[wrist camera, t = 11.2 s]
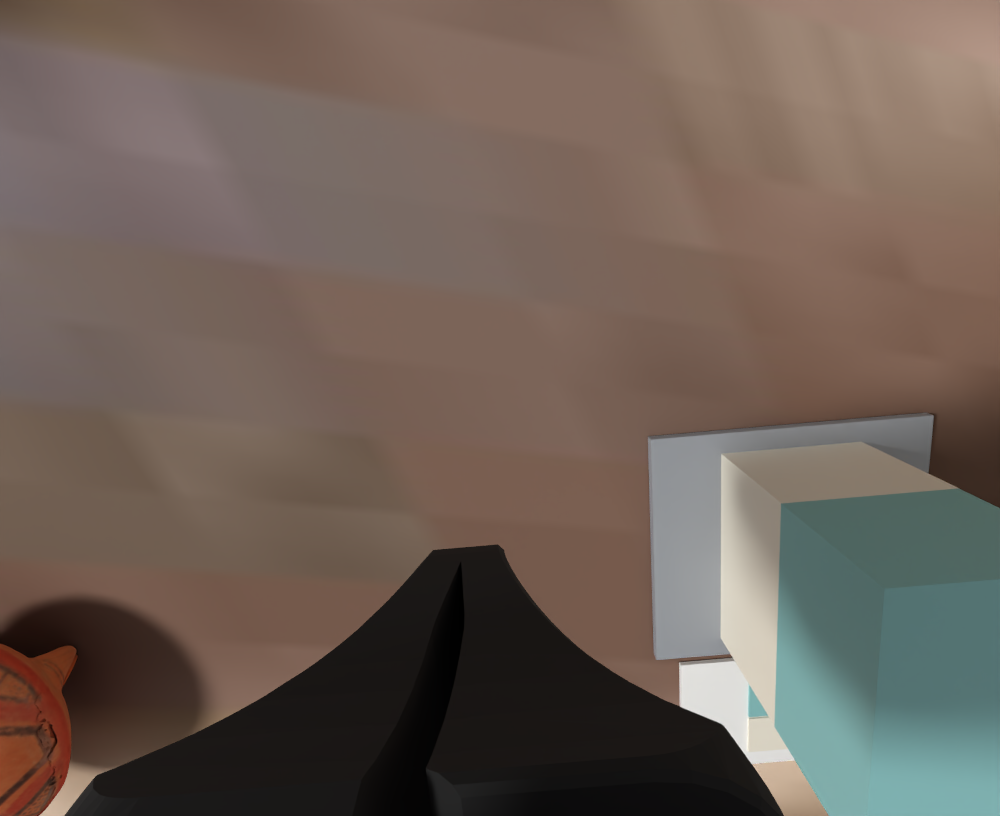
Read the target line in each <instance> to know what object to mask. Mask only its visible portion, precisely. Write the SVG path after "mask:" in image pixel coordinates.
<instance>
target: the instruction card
mask: <svg viewBox="0 0 1000 816" xmlns="http://www.w3.org/2000/svg"><path fill="white" fill-rule="evenodd" d="M679 684H680V707H682V708H684V709H687V710H689V711H692V712H694V713H696V714H699V715H701V716H704V717H706V718H709V719H711V720H713V721H716V722H718V723H721V724H722V725H723V726H724V727H725V728H726V729H727V731H728V732H729V733H730V735H731V736H732V737H733V739H734V740H735V741H736V743H737V744H738V746H739V747H740V748H741V750H742V751H743V753H744V754H745V755H746V757H747V758H748V760H749V761H750V762H751V764H756V763H769V762H781V761H793V760H795V759H794V758H793V756H792V755H791V753H790V751H789V750H788V748H787V746H786V745H785V743H784V742H783V740H782V738H781V737H780V735H779V733H778V732H777V730H776V728H775V727H774V724H773V722H772V721H771V719H770V718H769V716H768V714H767V713H766V711H765V709H764V708H763V706H762V705H761V703H760V701H759V700H758V698H757V696H756V695H755V693H754V692H753V690H752V688H751V687H750V685H749V683H748V682H747V680H746V678H745V677H744V675H743V674H742V672H741V670H740V669H739V667H738V665H737V664H736V662H735V661H734V659H733V658H724V659H712V660H700V661H688V662H679Z"/></svg>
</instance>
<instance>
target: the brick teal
mask: <svg viewBox="0 0 1000 816" xmlns="http://www.w3.org/2000/svg"><path fill="white" fill-rule="evenodd" d="M774 727H775V728H776V730H777V732H778V733H779V735H780V737H781V738H782V740H783V742H784V743H785V745H786V746H787V748H788V750H789V751H790V753H791V755H792V756H793V758H794V759H795V761H796V763H797V764H798V766H799V768H800V769H801V771H802V773H803V774H804V776H805V777H806V779H807V781H808V782H809V784H810V786H811V787H812V789H813V791H814V792H815V794H816V795H817V797H818V799H819V800H820V802H821V804H822V805H823V807H824V809H825V810H826V812H827V813H828V815H829V816H1000V508H998V507H996V506H994V505H992V504H990V503H988V502H986V501H984V500H982V499H980V498H978V497H975V496H973V495H971V494H969V493H967V492H965V491H963V490H961V489H959V488H958V489H946V490H934V491H923V492H911V493H899V494H887V495H875V496H864V497H852V498H840V499H828V500H817V501H805V502H793V503H781V521H780V555H779V589H778V622H777V656H776V690H775V724H774Z"/></svg>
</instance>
